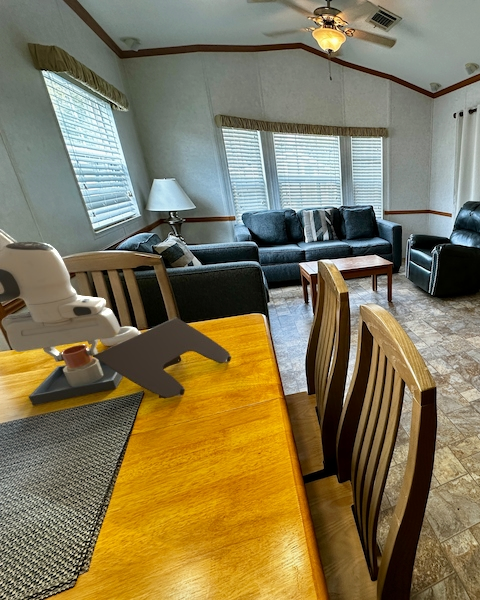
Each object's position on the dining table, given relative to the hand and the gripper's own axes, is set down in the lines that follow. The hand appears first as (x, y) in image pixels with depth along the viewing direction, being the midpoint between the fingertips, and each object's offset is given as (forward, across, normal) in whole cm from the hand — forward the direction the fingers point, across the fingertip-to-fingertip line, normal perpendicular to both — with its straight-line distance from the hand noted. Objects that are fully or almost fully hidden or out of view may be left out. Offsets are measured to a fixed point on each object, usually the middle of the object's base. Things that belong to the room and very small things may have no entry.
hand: (77, 357), depth 85 cm
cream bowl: (+7, 0, 0) cm, 7 cm away
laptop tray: (+8, +22, -6) cm, 24 cm away
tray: (+7, 0, 0) cm, 7 cm away
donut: (+8, +1, +24) cm, 25 cm away
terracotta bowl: (+2, 0, 0) cm, 2 cm away
